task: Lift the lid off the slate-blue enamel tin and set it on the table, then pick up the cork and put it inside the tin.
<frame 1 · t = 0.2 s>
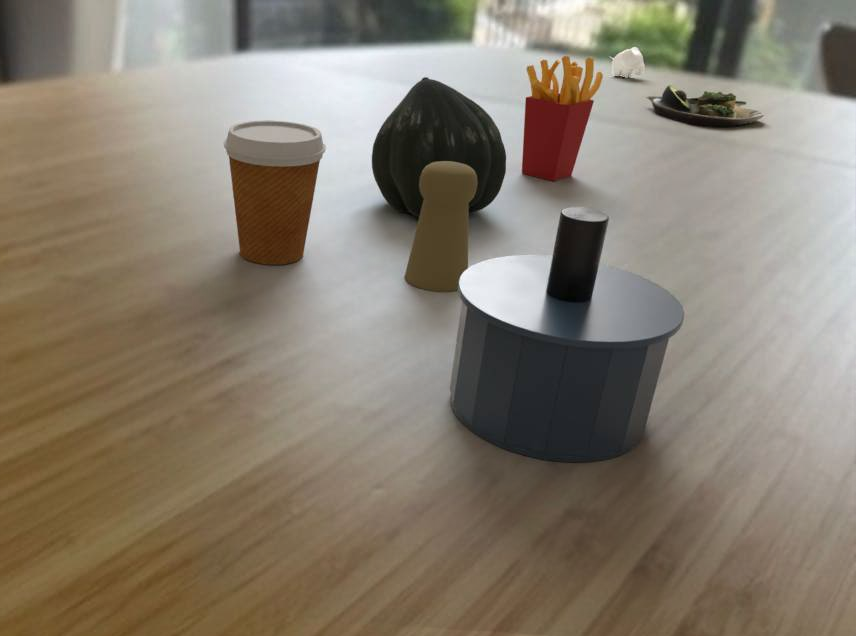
elephant figurine: (623, 78, 195), on the table
salad plate: (701, 117, 161), on the table
tin: (545, 410, 65), on the table
disposable coffee cup: (271, 255, 90), on the table
cork: (436, 281, 86), on the table
french fries: (545, 173, 122), on the table
squash: (430, 210, 105), on the table
tin lid: (567, 300, 61), point 8 cm above the table, touching tin
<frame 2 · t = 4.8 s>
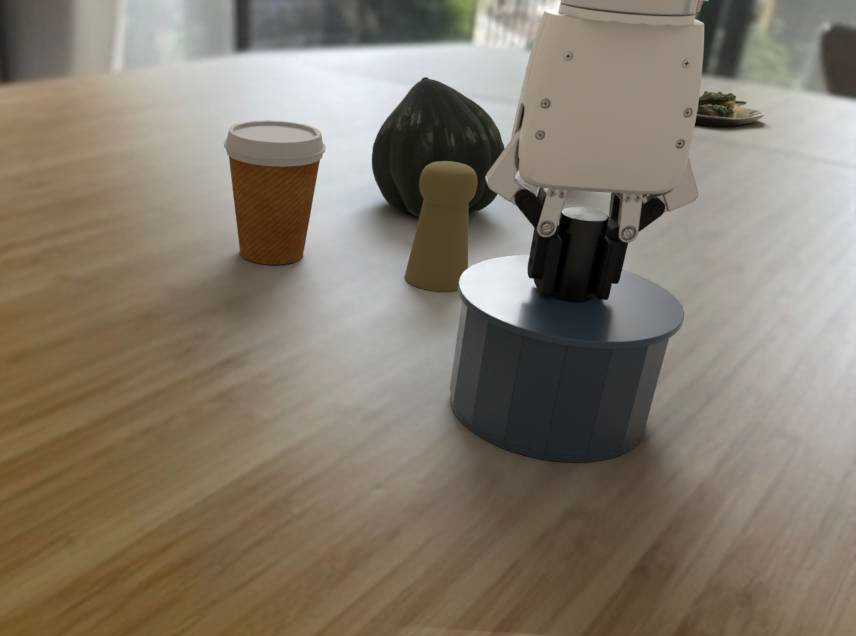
hand: (570, 287, 60), 9 cm above the table, tool pointing down, fingers closed on tin lid, 3 cm apart
tin lid: (567, 300, 61), point 9 cm above the table, touching gripper, tin
everything else where it was.
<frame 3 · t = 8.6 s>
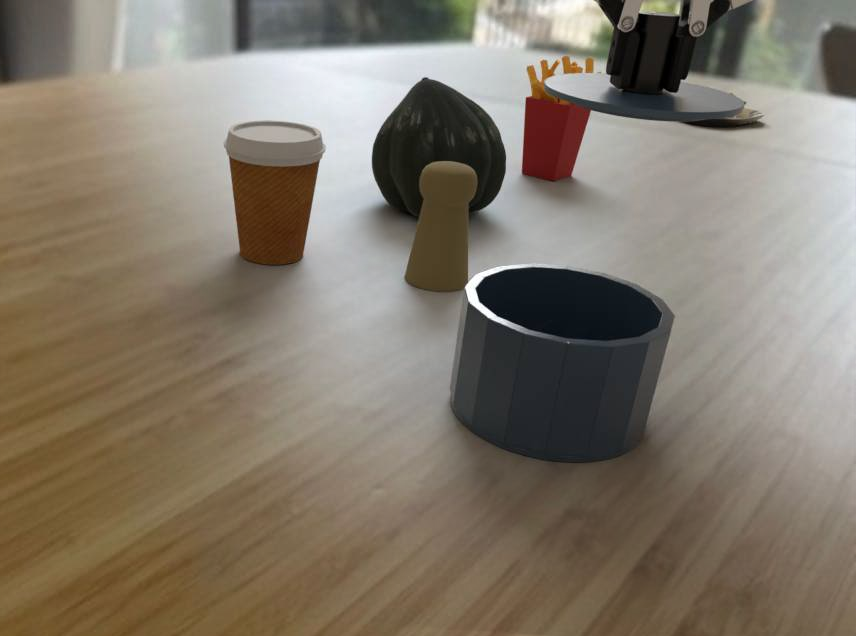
hand: (643, 85, 69), 20 cm above the table, tool pointing down, fingers closed on tin lid, 3 cm apart
tin lid: (640, 97, 69), point 19 cm above the table, touching gripper
everything else where it was.
when the fingers open (1 cm above the table, at t = 12.8 s): tin lid stays where it is, point 1 cm above the table.
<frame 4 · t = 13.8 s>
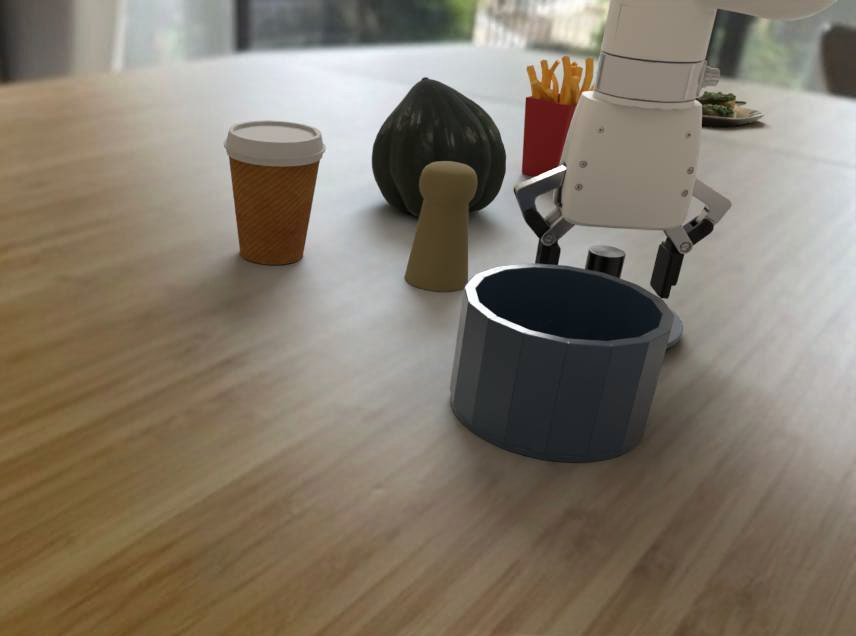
hand: (601, 289, 77), 3 cm above the table, tool pointing down, fingers open, 9 cm apart
tin lid: (592, 316, 78), point 1 cm above the table
everything else where it was.
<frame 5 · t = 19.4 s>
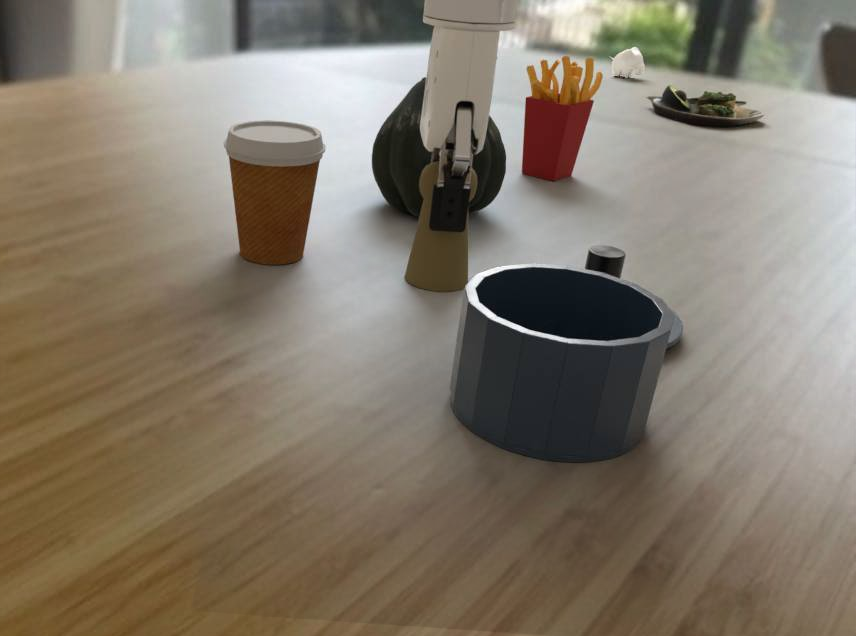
hand: (443, 217, 83), 6 cm above the table, tool pointing down, fingers closed on cork, 5 cm apart
cork: (435, 281, 86), on the table, touching gripper
everything else where it was.
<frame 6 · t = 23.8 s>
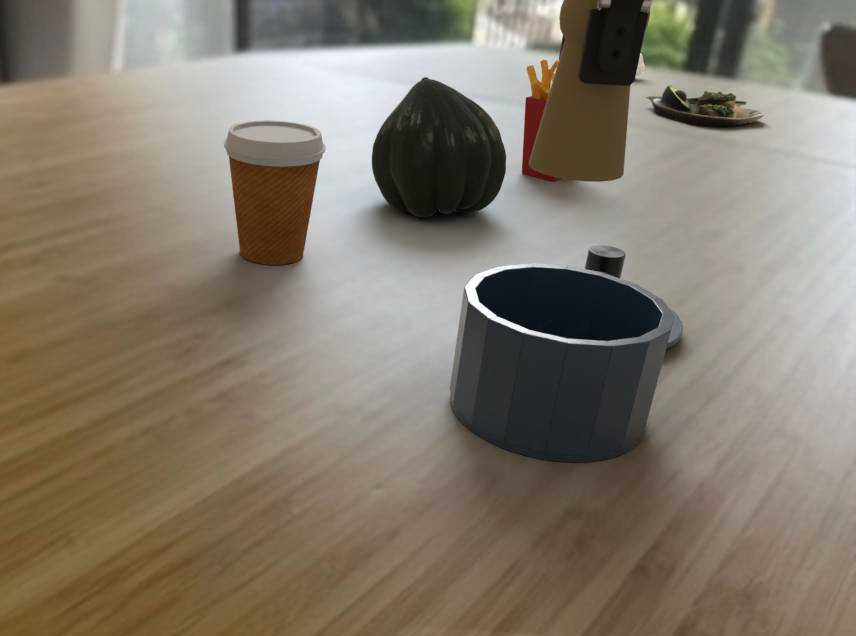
hand: (594, 71, 56), 23 cm above the table, tool pointing down, fingers closed on cork, 5 cm apart
cork: (574, 171, 59), point 17 cm above the table, touching gripper
everything else where it was.
when the fingers open (7 cm above the table, at t = 28.0 s): cork stays where it is, resting on tin.
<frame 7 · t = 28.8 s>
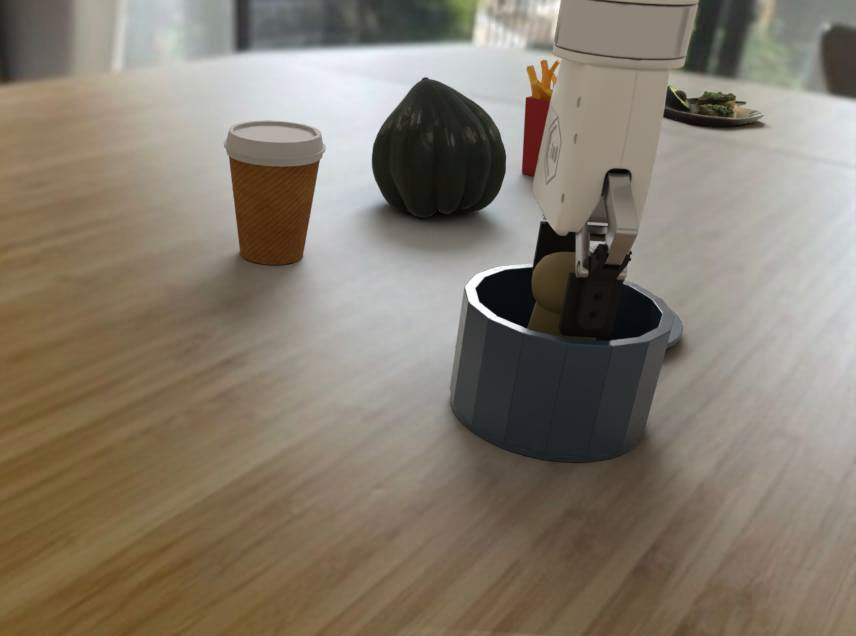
hand: (567, 304, 61), 8 cm above the table, tool pointing down, fingers open, 9 cm apart
cork: (546, 406, 65), resting on tin
everything else where it was.
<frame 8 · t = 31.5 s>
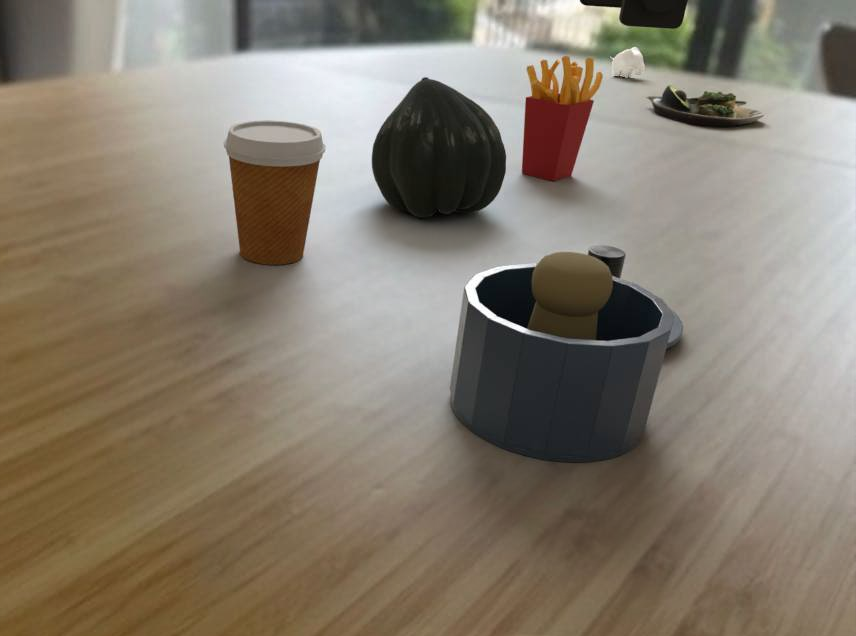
hand: (625, 15, 52), 26 cm above the table, tool pointing down, fingers open, 9 cm apart
nothing on the table moved.
at the end: tin lid inside the target area (0.1 cm from its centre), point 0.6 cm above the table; cork inside the target area in the tin (0.0 cm from its centre), point 0.3 cm above the tin's base; cork tilted 0° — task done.
